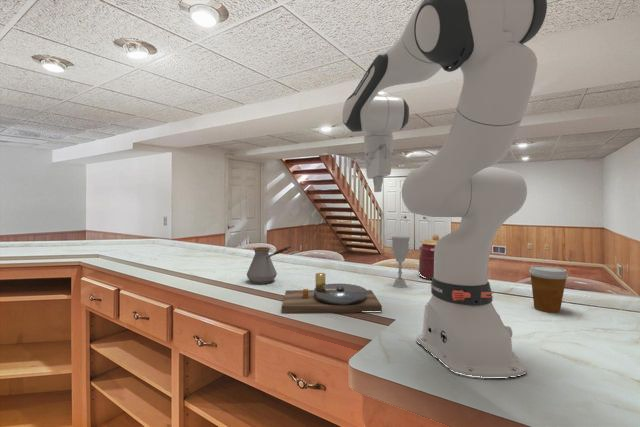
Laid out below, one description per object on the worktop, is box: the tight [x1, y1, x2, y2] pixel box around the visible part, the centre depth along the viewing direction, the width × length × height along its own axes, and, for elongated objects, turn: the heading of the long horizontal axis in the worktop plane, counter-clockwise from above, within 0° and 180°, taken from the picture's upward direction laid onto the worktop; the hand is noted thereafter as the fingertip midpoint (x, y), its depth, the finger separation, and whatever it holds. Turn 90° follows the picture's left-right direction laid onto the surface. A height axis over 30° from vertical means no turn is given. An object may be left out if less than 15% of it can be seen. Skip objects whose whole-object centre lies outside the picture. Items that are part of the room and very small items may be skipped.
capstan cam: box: [313, 272, 368, 305], centre depth 102 cm, size 16×16×7 cm
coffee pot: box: [246, 245, 293, 285], centre depth 126 cm, size 21×12×15 cm, turn 51°
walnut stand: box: [281, 288, 383, 314], centre depth 102 cm, size 16×28×4 cm, turn 92°
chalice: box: [390, 235, 411, 288], centre depth 123 cm, size 7×7×18 cm
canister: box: [418, 234, 441, 280], centre depth 137 cm, size 13×13×18 cm
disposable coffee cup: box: [528, 265, 569, 314], centre depth 98 cm, size 10×10×12 cm
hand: (377, 192), depth 105 cm, fingers closed
